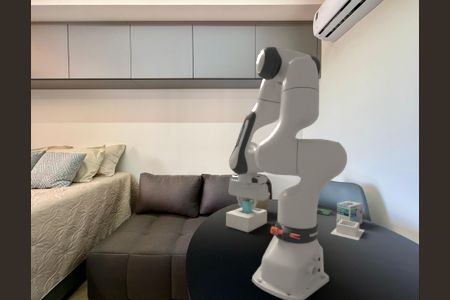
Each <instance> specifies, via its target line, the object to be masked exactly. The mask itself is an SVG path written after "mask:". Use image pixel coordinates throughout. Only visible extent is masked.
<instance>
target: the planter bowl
mask: <svg viewBox="0 0 450 300" xmlns="http://www.w3.org/2000/svg"><path fill="white" fill-rule="evenodd" d="M270 197H271V194H270V192H268V199H267V200H265V201H261V200H258V203H257V204H256V208H258V209H263V210H267V207H268V206H269V203H270ZM244 200H245V197H241V201H244ZM250 200H252V201H253V199H250ZM254 202H255V201H253V203H252V204H254Z"/></svg>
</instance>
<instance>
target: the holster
mask: <svg viewBox="0 0 450 300" xmlns="http://www.w3.org/2000/svg"><path fill="white" fill-rule="evenodd" d="M364 232H365V229H361V228H360V224H359V223H358V222H353V221H348V220H343V219H341V220H340V221H339V222H338V223H337V222H336V227H335V228H334V229H333V230H332V231H331V232H330V234H331V235H335V236H339V237H343V238H347V239H352V240H354V241H359V240H360V238H361V237H362V236H363V233H364Z"/></svg>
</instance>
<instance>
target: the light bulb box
mask: <svg viewBox="0 0 450 300" xmlns="http://www.w3.org/2000/svg"><path fill="white" fill-rule="evenodd" d="M363 205H364V204H363V203H361V202H356V201H352V200H346V201H342V202H341V201H340V202H337V203H336V224H337V223H338V222H339V221H340V220H341V219H343V220H348V221H353V222H358V223H359V225H361V224H363V210H364V209H363V207H364V206H363Z"/></svg>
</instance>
